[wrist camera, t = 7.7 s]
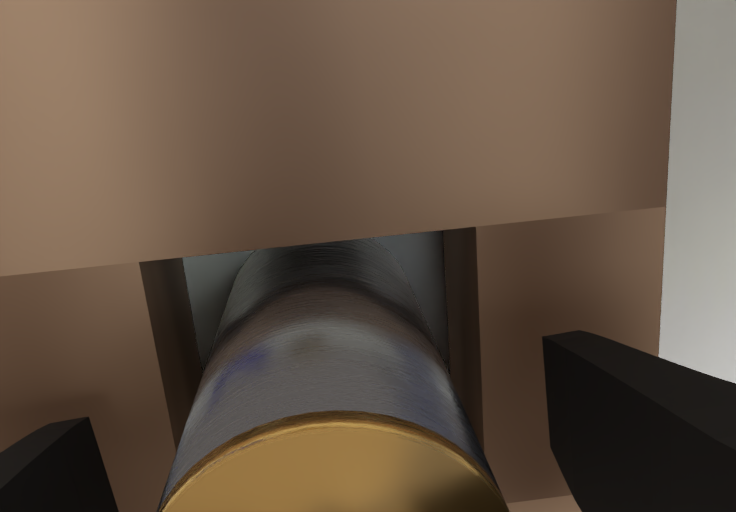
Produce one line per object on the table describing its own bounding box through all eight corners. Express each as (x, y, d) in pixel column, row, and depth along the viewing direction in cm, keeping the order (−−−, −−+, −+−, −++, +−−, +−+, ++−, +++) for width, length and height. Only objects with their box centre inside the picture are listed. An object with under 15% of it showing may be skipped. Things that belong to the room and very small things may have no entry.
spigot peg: (390, 203, 14) (492, 385, 6) (429, 370, 15) (555, 698, 7) (204, 250, 14) (70, 494, 6) (258, 415, 15) (205, 791, 7)
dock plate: (595, -42, 13) (680, -71, 10) (585, 553, 17) (643, 654, 14) (-46, 10, 12) (-157, -5, 9) (108, 618, 16) (65, 739, 13)
